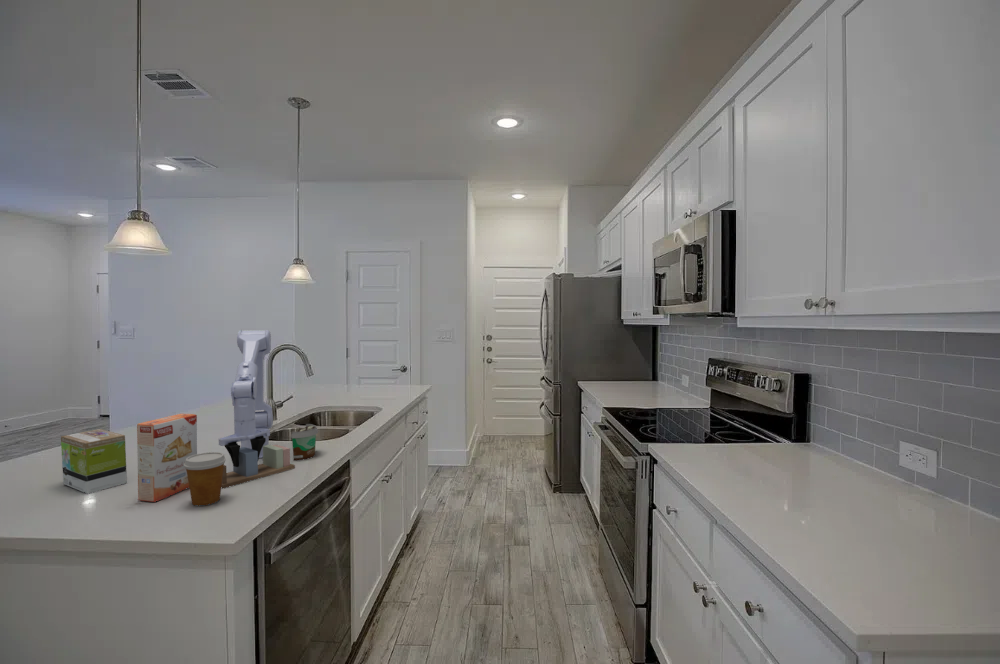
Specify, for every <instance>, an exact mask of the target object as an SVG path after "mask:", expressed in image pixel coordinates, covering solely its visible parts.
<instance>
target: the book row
mask: <svg viewBox="0 0 1000 664" xmlns="http://www.w3.org/2000/svg"><path fill="white" fill-rule="evenodd" d="M262 464H263V465H266V466H269V467H272V468H275V469H279V468H282V467H286V466H290V464H291V448H289V447H286V446H282V445H278V444H273V445H272V444H269V445H265V446H263V457H262Z"/></svg>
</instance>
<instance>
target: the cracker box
mask: <svg viewBox="0 0 1000 664" xmlns="http://www.w3.org/2000/svg"><path fill="white" fill-rule="evenodd" d="M197 416H198V415H197V414H194V413H177V414H173V415H169V416H165V417H162V418H156V419H152V420H148V421H143V422H140V423H136V430H137V431H136V435H137V437H136V438H137V440H136V441H137V443H136V444H137V446H136V447H137V452H136V453H137V496H138V497H137V498H138V499H137V500H138V501H139V502H142V501H143V502H150V503H157V502H159V501H162V500H163V499H166V498H168V497H171V496H173V495H176V494H177V492H178V493H180V492H182V490H183V491H185V490H187V489H186V488H188V487H189V482H188V477H187V471H186V468H185V466H184V463H185V461H186V458H188V457H190V456H193V455H196V454H198V427H197V426H198V417H197ZM184 489H185V490H184ZM188 489H189V488H188ZM179 491H180V492H179ZM175 493H176V494H175ZM170 495H171V496H170ZM156 501H157V502H156Z"/></svg>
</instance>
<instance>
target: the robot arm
mask: <svg viewBox="0 0 1000 664" xmlns="http://www.w3.org/2000/svg"><path fill="white" fill-rule="evenodd" d="M271 337H272V336H271V331H270V330H269V329H263V330H259V329H255V330H254V329H253V330H249V329H248V330H244V329H243V330H242V329H239V330H238V332H237V334H236V344H237V347H238V349H239V351H240V353H241V354H242V361H241V362H240V363H239V364H238V366H237V369H236V374H235V380H234V382H232V383H231V386H230V394H231V395H230V396H231V401H232V406H233V420H234V421H233V423H234V424H233V426H234V429H233V430H234V433H233V434H230V435H228V436H224V437H220V438H218V446H220V447H221V446H222V447H225V449H226V451H227V452H228V454H229V456H230V459H231V462H232V467H233V466H235V467H239V450H240V448H242V447H246V448H249V449H252V450H255V451H258V460H259V459H263V446H265V445H270V443H269V442H270V441H269V437H270V436H271V428H272V427H273V426H274V425H273V423H274V416H273V414H274V413H273V408H272V406H271V405H270V404H268V402H267V403H266V402H265V400H264V395H265V394H264V387H265V385H264V376H265V375H264V373H265V371H264V362H265V361H264V360H265V356H266V355H268V354H270V353H271V348H272V345H271V344H272V342H271V341H272V338H271ZM238 443H240V444H238Z"/></svg>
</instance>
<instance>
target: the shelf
mask: <svg viewBox="0 0 1000 664" xmlns="http://www.w3.org/2000/svg"><path fill="white" fill-rule="evenodd" d="M295 466H296V465H295V464H292V463H290V466H286V467H282V468H279V469H275V468H272V467H269V466H266V465H263V463H260V464H259V463H258V474H256V475H253V476H249V477H245V476H242V475H240V474H237V473H235V472H233V471H230V472H229V471H228V472H227V465H225V464H224V468H223V476H222V485H221V487H222V488H221V489H223V488H224V489H226V487H227V488H230V487H229V486H231V487H233V485H234V486H236V484H238V485H240V483H241V484H244V482H245V483H248V482H251V481H250V480H252V481H254V479H255V480H257V479H258V478H259V479H261V477H262V478H266V477H269V476H271V475H277V474H279V473H282V472H286V471H290V470H294V469H296V467H295ZM247 481H248V482H247Z"/></svg>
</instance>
